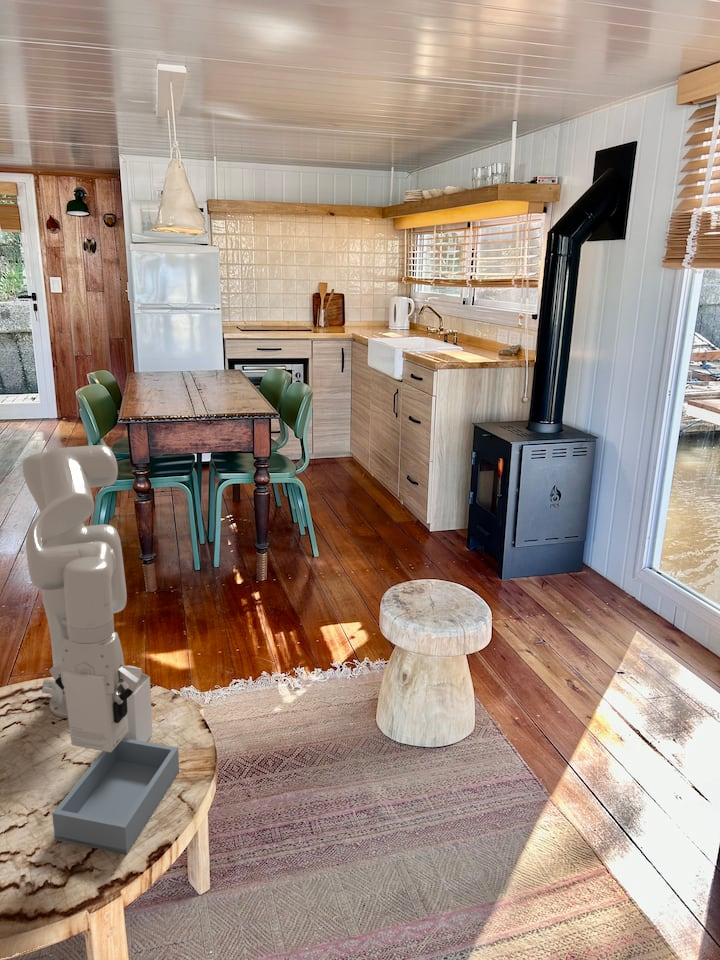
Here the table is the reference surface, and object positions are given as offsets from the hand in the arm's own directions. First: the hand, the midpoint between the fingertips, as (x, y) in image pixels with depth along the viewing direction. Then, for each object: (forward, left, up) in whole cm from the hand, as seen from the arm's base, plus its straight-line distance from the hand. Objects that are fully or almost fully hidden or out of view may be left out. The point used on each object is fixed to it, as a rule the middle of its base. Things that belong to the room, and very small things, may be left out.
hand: (97, 714), depth 132 cm
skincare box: (0, 0, -6) cm, 6 cm away
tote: (+1, +4, -23) cm, 23 cm away
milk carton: (-6, +21, -23) cm, 31 cm away
